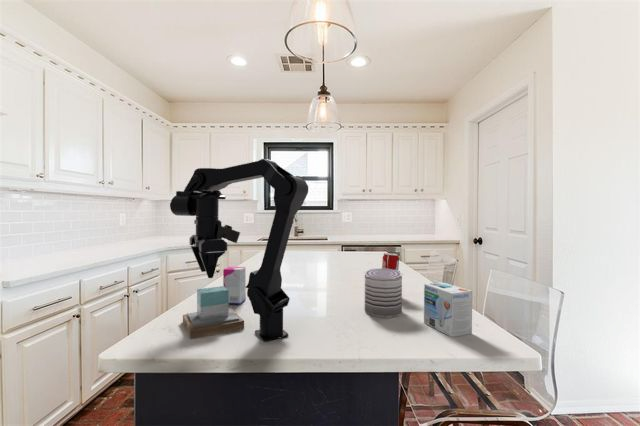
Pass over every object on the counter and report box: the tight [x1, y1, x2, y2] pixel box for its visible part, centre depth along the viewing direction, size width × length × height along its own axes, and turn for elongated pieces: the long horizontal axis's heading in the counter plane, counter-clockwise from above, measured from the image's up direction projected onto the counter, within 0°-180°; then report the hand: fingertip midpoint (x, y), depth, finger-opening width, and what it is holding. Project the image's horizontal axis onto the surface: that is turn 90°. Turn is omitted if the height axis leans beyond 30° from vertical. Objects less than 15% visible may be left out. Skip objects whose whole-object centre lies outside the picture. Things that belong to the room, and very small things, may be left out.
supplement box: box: [222, 266, 247, 306], centre depth 106 cm, size 6×6×12 cm
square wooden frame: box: [182, 306, 245, 340], centre depth 85 cm, size 13×13×2 cm
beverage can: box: [381, 252, 400, 271], centre depth 114 cm, size 6×6×15 cm
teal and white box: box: [196, 285, 230, 321], centre depth 85 cm, size 7×5×7 cm
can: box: [363, 267, 404, 318], centre depth 97 cm, size 11×11×12 cm
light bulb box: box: [423, 281, 473, 338], centre depth 83 cm, size 11×7×11 cm, turn 21°
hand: (206, 274), depth 85 cm, fingers open, 9 cm apart
